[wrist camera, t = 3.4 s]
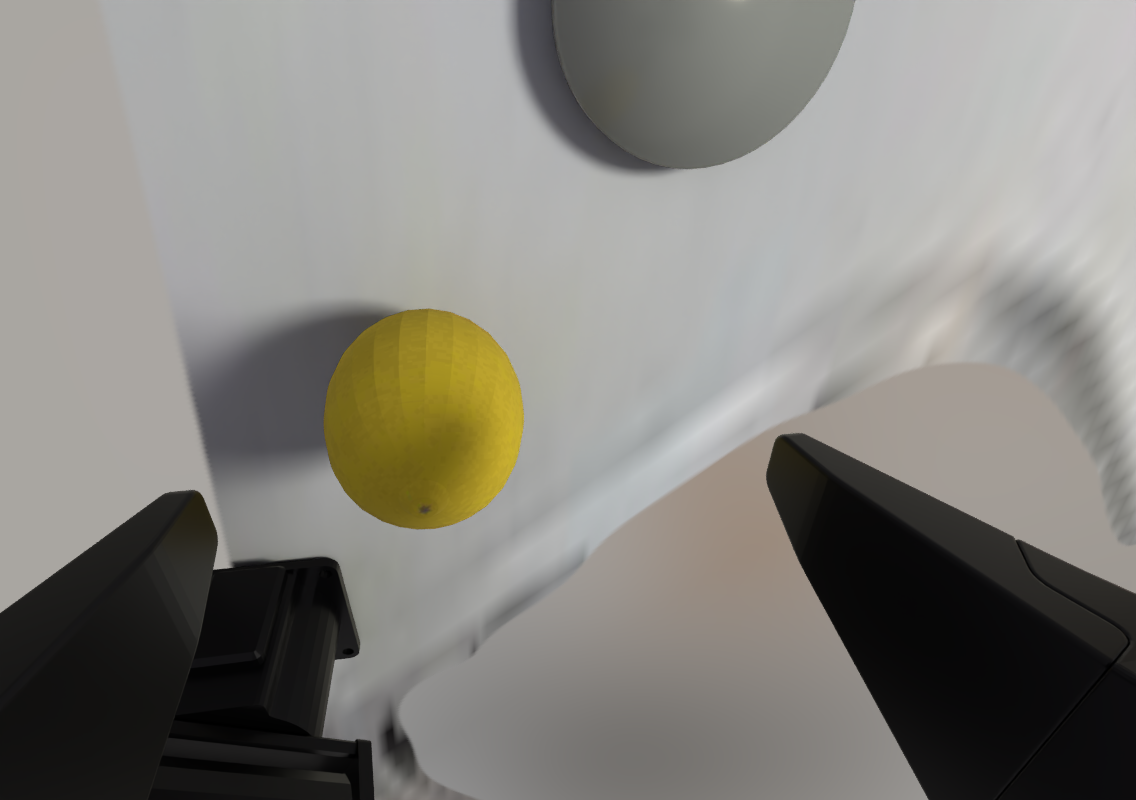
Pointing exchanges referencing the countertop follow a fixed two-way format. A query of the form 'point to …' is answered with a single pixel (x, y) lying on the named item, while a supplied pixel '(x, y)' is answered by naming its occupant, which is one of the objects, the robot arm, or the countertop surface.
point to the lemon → (423, 419)
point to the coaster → (696, 70)
